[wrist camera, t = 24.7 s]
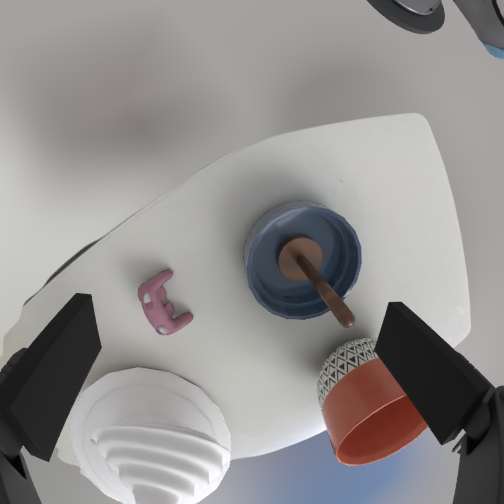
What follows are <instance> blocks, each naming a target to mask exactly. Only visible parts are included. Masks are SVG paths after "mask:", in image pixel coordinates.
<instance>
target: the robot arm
mask: <svg viewBox="0 0 504 504" xmlns="http://www.w3.org/2000/svg"><path fill="white" fill-rule="evenodd" d="M391 1H392V2H393V3H395V4H396V5H397V6H399V7H400V8H402V9H403V10H405V11H407V12H409V13H411V14H414V15H417V16H427V15H429V14H431V13H432V12H434V11H435V9H436V8H437V7H438V5H439V4H440V2H441V0H391ZM453 1H454V2H455V4H456V5H457V7H458V8H459V9H460V11H461V12H462V13H463V15H464V16H465V18H466V19H467V20H468V22H469V23H470V25H471V27H472V28H473V30H474V31H475V33H476V35H477V37H478V38H479V40H480V41H481V42H482V43H483V45H484V46H485V47H486V49H487V51H488V52H489V53H490V54H491V55H493V56H494V57H497V58H500V59H504V0H453ZM101 348H102V347H101V342H100V338H99V333H98V328H97V324H96V318H95V313H94V308H93V302H92V296H91V294H82V293H76V294H75V295H74V296H73V297H72V298H71V299H70V300H69V301H68V302H67V304H66V305H65V306H64V307H63V308H62V309H61V310H60V311H59V312H58V313H57V315H56V316H55V317H54V318H53V319H52V320H51V321H50V322H49V324H48V325H47V326H46V327H45V328H44V329H43V331H42V332H41V333H40V334H39V335H38V337H37V338H36V339H35V340H34V341H33V343H32V344H31V345H30V346H29V347H28V349H27V348H22V349H21V350H19V351H18V352H16V353H15V354H13V356H12V357H11V358H10V359H9V361H8V362H7V365H5V366H4V367H3V368H2V369H1V372H0V504H42V503H41V501H40V499H39V496H38V494H37V492H36V489H35V487H34V484H33V482H32V479H31V477H30V474H29V471H28V468H27V465H26V462H25V459H24V457H23V455H22V453H21V452H20V450H21V448H22V446H23V445H24V447H25V448H26V449H27V451H28V452H29V453H30V454H31V455H33V456H35V457H38V458H40V459H42V460H45V461H47V462H49V461H50V458H51V455H52V453H53V450H54V448H55V445H56V443H57V440H58V438H59V436H60V433H61V431H62V429H63V426H64V424H65V422H66V419H67V417H68V415H69V413H70V411H71V408H72V406H73V404H74V402H75V400H76V398H77V396H78V393H79V391H80V389H81V387H82V385H83V383H84V381H85V379H86V377H87V375H88V373H89V371H90V369H91V367H92V365H93V363H94V361H95V360H96V358H97V356H98V354H99V352H100V350H101ZM374 351H375V353H376V354H377V355H378V357H379V358H380V359H381V361H382V362H383V364H384V365H385V366H386V368H387V369H388V370H389V372H390V373H391V374H392V376H393V377H394V379H395V380H396V381H397V383H398V384H399V385H400V387H401V388H402V390H403V391H404V392H405V394H406V395H407V397H408V398H409V399H410V401H411V402H412V404H413V405H414V406H415V408H416V409H417V411H418V412H419V414H420V415H421V416H422V418H423V419H424V421H425V422H426V424H427V425H428V427H429V428H430V429H431V431H432V432H433V434H434V435H435V437H436V438H437V440H438V441H439V443H440V444H441V445H443V444H445V443H448V442H450V441H452V440H454V439H455V438H456V437H457V435H458V434H459V433H460V431H461V430H462V429H464V431H465V432H466V433H465V434H464V436H463V437H462V438H461V439H460V441H459V442H458V443H457V444H456V446H455V447H454V448H453V450H452V452H455V451H456V450H457V448H458V447H459V446H461V448H460V450H459V451H458V452H457V453H459V454H460V463H459V470H458V477H457V484H456V489H455V495H454V499H453V504H504V386H499V387H497V388H495V387H494V386H493V385H492V384H491V383H490V382H489V381H488V380H487V379H486V378H485V377H484V376H483V375H482V374H481V373H480V372H479V371H478V370H477V369H475V368H474V366H473V365H472V364H471V363H469V361H468V360H467V359H466V358H465V357H464V356H463V355H462V354H460V353H458V352H456V351H455V350H454V349H453V348H452V347H451V346H450V345H449V344H448V343H447V342H446V341H444V340H443V339H442V338H441V337H440V336H439V335H438V334H437V333H436V332H435V331H434V330H433V329H431V328H430V327H429V326H428V325H427V324H426V323H425V322H424V321H423V320H422V319H420V318H419V317H418V316H417V315H416V314H415V313H414V312H413V311H411V310H410V309H409V308H408V307H407V306H406V305H405V304H403V303H402V302H389V303H388V307H387V310H386V314H385V317H384V320H383V324H382V327H381V330H380V333H379V336H378V339H377V342H376V345H375V348H374Z"/></svg>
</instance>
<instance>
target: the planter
mask: <svg viewBox="0 0 504 504" xmlns="http://www.w3.org/2000/svg"><path fill="white" fill-rule="evenodd" d="M376 342H377V339H375V338H360V339H356V340H352V341H350V342H347V343H345V344H343V345H342V346H340V347H339V348H337V349H336V350H335V351H334V352H333V353H332V354H331V355H330V356H329V357H328V358H327V360H326V361H325V362H324V364H323V366H322V368H321V370H320V373H319V376H318V383H317V393H318V400H319V405H320V408H321V411H322V415H323V418H324V421H325V425H326V428H327V431H328V433H329V437H330V441H331V444H332V447H333V450H334V454H335V456H336V459H337V460H338V461H339V462H340V463H342V464H345V465H363V464H368V463H372V462H375V461H378V460H381V459H383V458H386V457H388V456H390V455H392V454H394V453H396V452H397V451H399V450H401V449H402V448H404V447H405V446H407V445H408V444H410V443H411V442H412V441H414V440H415V439H416V438H417V437H418V436H419V435H421V433H423V431H425V430H426V429H427V427H428V425H427V424H426V422H425V421H424V419H423V418H422V416H421V415H420V414H419V412H418V411H417V409H416V408H415V406H414V405H413V404H412V402H411V401H410V399H409V398H408V397H407V395H406V394H405V392H404V391H403V390H402V388H401V387H400V385H399V384H398V383H397V381H396V380H395V379H394V377H393V376H392V374H391V373H390V372H389V370H388V369H387V368H386V366H385V365H384V364H383V362H382V361H381V359H380V358H379V357H378V355H377V354H376V353H375V351H374V348H375V345H376Z"/></svg>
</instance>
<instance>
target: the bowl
mask: <svg viewBox="0 0 504 504" xmlns="http://www.w3.org/2000/svg"><path fill="white" fill-rule="evenodd" d="M297 234H301V235H306V236H308V237H310V238H312V239H313V240H314V241H315V242H316V243H317V244H318V245H319V246H320V248H321V250H322V255H323V260H322V264H321V267H320V269H319V270H318V272H319V273H320V275H321V276H322V277H323V278H324V279H325V280H326V282H327V283H328V284H329V285H330V286H331V288H332V289H333V290H334V291H335V292H336V294H337V295H338V296H339V297H340V298H341V300H342V301H343V300H344V299H345V298H346V297H347V296H348V295H349V293H350V291H351V290H352V288H353V286H354V285H355V283H356V281H357V279H358V275H359V271H360V268H361V264H362V261H361V246H360V243H359V240H358V237H357V235H356V232H355V230H354V229H353V228H352V227H351V225H350V224H349V223H348V222H347V221H346V219H345V218H344V217H342V216H340V215H338V214H337V213H335V212H333V211H331V210H330V209H328V208H325V207H323V206H321V205H319V204H317V203H311V202H305V201H296V202H290V203H284V204H281V205H279V206H277V207H275V208H273V209H272V210H270V211H268V212H266V213H265V214H264V215H263V216H262V217H261V218H260V219H259V220H258V221H257V222H256V223H255V224H254V226H253V228H252V230H251V232H250V234H249V236H248V238H247V240H246V243H245V250H244V257H243V259H244V264H245V270H246V275H247V279H248V284H249V287H250V290H251V291H252V293H253V295H254V296H255V298H256V300H257V301H258V303H259V304H261V305H262V306H263V307H264V308H266V309H267V310H268V311H269V312H270V313H272V314H275V315H278V316H280V317H283V318H286V319H299V320H305V319H309V318H313V317H317V316H321V315H323V314H324V313H326V312H328V311H330V308H329V307H328V306H327V304H326V303H325V301H324V300H323V299H322V297H321V296H320V294H319V293H318V292H317V290H316V289H315V287H314V286H313V285H312V283H311V282H310V280H309V279H307V280H303V281H294V280H291V279H289V278H287V277H286V276H284V274H283V273H282V272H281V270H280V268H279V266H278V264H277V260H276V254H277V250H278V248H279V246H280V244H281V243H282V242H283V241H284V240H285V239H286V238H288V237H290V236H293V235H297Z"/></svg>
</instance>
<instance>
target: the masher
mask: <svg viewBox="0 0 504 504" xmlns="http://www.w3.org/2000/svg"><path fill="white" fill-rule="evenodd" d="M276 260H277V264H278V266H279V268H280V270H281V272H282V273H283V274H284V276H286V277H287V278H289V279H291V280H294V281H303V280H307V279H309V280H310V282H311V283H312V285H313V286H314V287H315V289H316V290H317V292H318V293H319V294H320V296H321V297H322V299H323V300H324V301H325V303H326V304H327V306H328V307H329V308H330V310H331V311H332V313H333V314H334V316H335V317H336V318H337V320H338V321H339V323H340V324H341V325H342V326H343V327H345V328H350V327H352V326H353V325H354V323H355V316H354V314H353V313H352V312H351V311H350V309H349V308H348V307H347V306H346V305H345V303H344V302H343V301H342V300H341V298H340V297H339V296H338V295H337V294H336V292H335V291H334V290H333V289H332V288H331V286H330V285H329V284H328V283H327V282H326V280H325V279H324V278H323V277H322V276H321V275H320V273H319V272H318V270H319V269H320V267H321V264H322V260H323V255H322V250H321V248H320V246H319V245H318V244H317V243H316V242H315V241H314V240H313V239H312V238H310V237H308V236H306V235H301V234H297V235H293V236H290V237H288V238H286V239H285V240H284V241H283V242H282V243H281V244H280V246H279V248H278V250H277V254H276Z"/></svg>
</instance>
